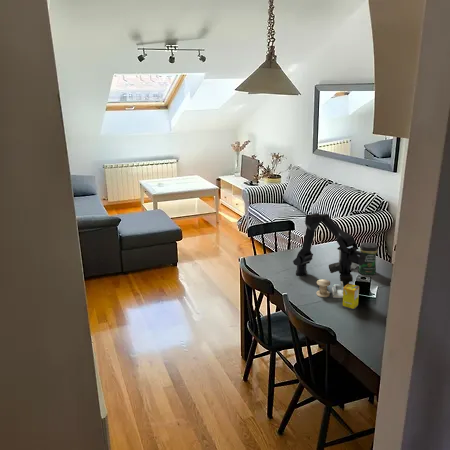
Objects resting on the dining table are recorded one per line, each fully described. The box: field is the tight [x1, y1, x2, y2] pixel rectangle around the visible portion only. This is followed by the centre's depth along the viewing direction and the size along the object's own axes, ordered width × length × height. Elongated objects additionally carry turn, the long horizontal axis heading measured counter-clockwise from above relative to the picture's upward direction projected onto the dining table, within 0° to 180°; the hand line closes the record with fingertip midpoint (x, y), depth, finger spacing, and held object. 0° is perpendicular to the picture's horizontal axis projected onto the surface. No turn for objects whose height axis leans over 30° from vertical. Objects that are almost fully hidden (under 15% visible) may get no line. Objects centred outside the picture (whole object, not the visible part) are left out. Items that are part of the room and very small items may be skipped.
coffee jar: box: [358, 242, 378, 276], centre depth 249 cm, size 10×8×19 cm
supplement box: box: [342, 282, 360, 311], centre depth 212 cm, size 6×6×11 cm
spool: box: [316, 278, 331, 298], centre depth 227 cm, size 7×7×7 cm
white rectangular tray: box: [331, 283, 343, 299], centre depth 227 cm, size 10×12×3 cm
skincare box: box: [338, 249, 360, 270], centre depth 261 cm, size 10×6×10 cm, turn 56°
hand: (344, 286), depth 226 cm, fingers closed on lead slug, 4 cm apart
